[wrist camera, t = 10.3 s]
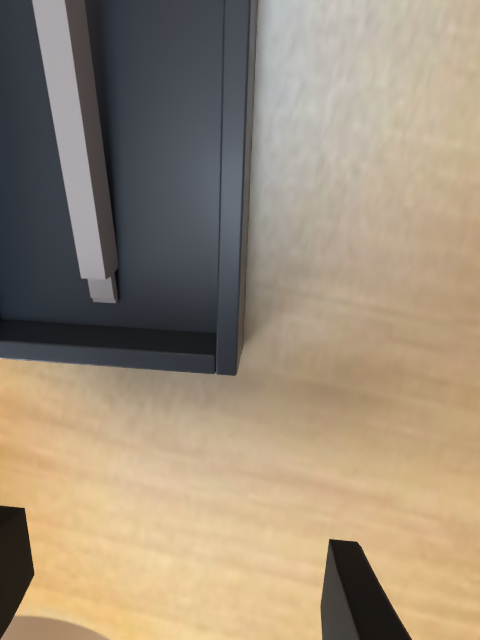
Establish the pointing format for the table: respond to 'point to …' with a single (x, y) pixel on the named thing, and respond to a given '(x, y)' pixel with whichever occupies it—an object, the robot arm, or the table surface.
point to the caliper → (79, 139)
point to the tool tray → (133, 188)
